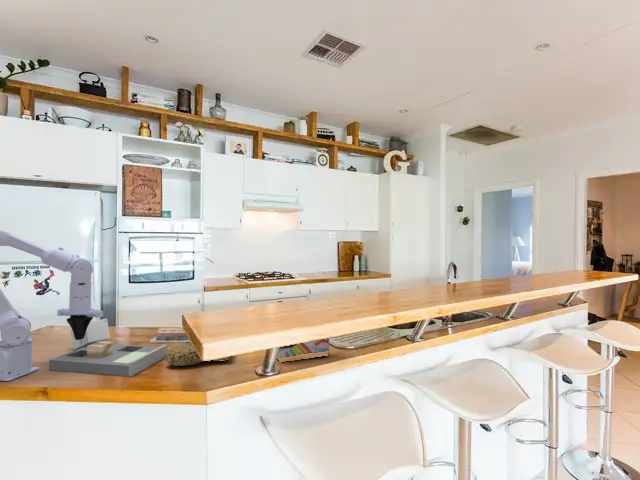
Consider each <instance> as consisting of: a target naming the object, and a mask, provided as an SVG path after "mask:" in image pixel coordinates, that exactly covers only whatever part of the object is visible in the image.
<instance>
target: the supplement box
mask: <svg viewBox="0 0 640 480" xmlns="http://www.w3.org/2000/svg"><path fill="white" fill-rule="evenodd" d="M70 333H71V334H70V335H71V341H72V349H73V350H74V351H75V350H78V349H81V348H83V347H86V346H88V345H91V344H93V343H96V342H99V341H104V342H106V341H108V340H110V339H111V333H110V327H109V322H108V318H102V319H96V320H91V322H90V323H89V325H88V327H87V330H86V333H85V336H84V338H83V339H80V340H75V337H74V333H73V330H72V329H70Z"/></svg>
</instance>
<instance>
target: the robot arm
mask: <svg viewBox="0 0 640 480" xmlns="http://www.w3.org/2000/svg"><path fill="white" fill-rule="evenodd" d="M0 247H12V248H14V249H16V250H19V251H22V252H25V253H28V254H30V255H33V256H36V257H38V258H40V259H41V263H42V264H43V265H46V266H49V267H52V268H54V269H57V270H59V271H62V272H64V273H68V272H69V274H71V275H70V282H69V300H68V301H69V303H68V305H69V306H68V308H60V309H57V310H56V311H57V317H61V316H63V317H64V316H65V317H68V318H66V322H67V324H68V325H69V327H70V328H71V330H73V333H74V337H75V340H80V339H83V338H84V336H85V333H86V330H87V327H88V325H89V323H90V322H91V321H93V318H96V319H99V318H103V317H104V310H99V309H94V308H92V281H91V280H92V274H93V272H94V268H93V265H92V263H91V262H90V261H89V260H87V259H85V258H83V257H81V255H78V254H76V255H75V254H72V253H70V252H68V251H66V250H64V248H63V247H60V246H59V247H56V246H52V247H47V248H46V247H44V246H42V245H39V244H37V243H35V242H32V241H30V240H28V239H26V238H23V237H21V236H19V235H17V234H14V233H12V232H9V231H5V230H1V229H0ZM31 328H32V323H31V321H30V320H29V319H28V318H25V317H23V316H22V315H21V314H20V312H19V311H18V310H17V309H15V307H14V306H13V304H12V303H11V301H10V300H9V299H8V298H7V296H6V295H5V293H4V292H3V290H2V289H1V288H0V339H1V341H0V381H2V382H3V381H4V382H10V381H12V380H15V379H17V378H20V377H22V376H26V375H28V374H30V373H33V372H35V371H38V370H40V367H38V366H33V365H32V364H33V363H32V362H33V338H31V337H30V336H31Z"/></svg>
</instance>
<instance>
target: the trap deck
mask: <svg viewBox="0 0 640 480" xmlns="http://www.w3.org/2000/svg"><path fill="white" fill-rule="evenodd" d="M167 352H168V344H162V345H160V346H152V345H151V346H148V345H133V344H119V343H118V344H117V343H114V344H113V353H112V354H110V355H107V356H105V357H103V358H94V357H87V346H86V347H83V348H79V349H75V350H74V351H71V352H68V353H65V354H62V355H59V356H57V357H54V358H51V359H49V361H48V362H49V365H48V366H49V369H48V370H49V371H58V372H70V373H79V374H80V373H81V374H82V373H84V374H94V375H95V374H97V375H109V376H121V377H134V376H135V375H137V374H138V373H141V372H143V371H144V370H147V368H150V367H151V366H153V365H154V364H156V363H158V362H159V361H161V360H163V359H166V353H167Z"/></svg>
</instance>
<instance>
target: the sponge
mask: <svg viewBox="0 0 640 480" xmlns="http://www.w3.org/2000/svg"><path fill="white" fill-rule="evenodd" d="M192 344H193V343H181V344H178V345H176V346H173V347H172V348H170V349H169V350H167V353H166V357H165V361H166V363H168V364H169V365H172V366H177V367H179V366H180V367H184V366H185V367H187V366H194V365H197V364H202V363H204V362H203V361H202V360H201V359H200V357H199V355H198V353H197V351H196V350H195V348H194V346H193V345H192ZM231 357H232V356H231ZM231 357H227V358H222V359H218V360H213V361H212V362H221V360H227V359H229V360H230V359H231ZM219 360H220V361H219ZM208 363H210V361H208Z"/></svg>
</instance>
